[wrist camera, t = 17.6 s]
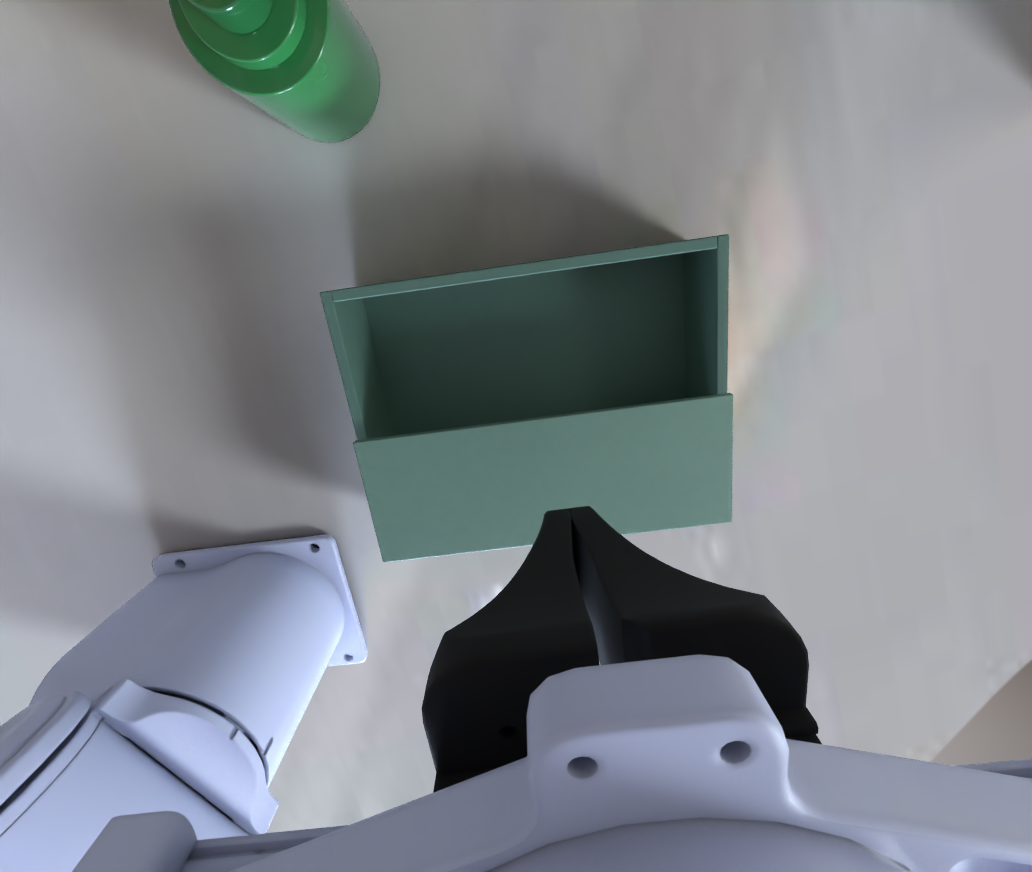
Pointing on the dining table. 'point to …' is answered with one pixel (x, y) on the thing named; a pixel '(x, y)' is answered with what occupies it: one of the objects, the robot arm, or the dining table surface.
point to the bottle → (287, 59)
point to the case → (534, 338)
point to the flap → (550, 476)
